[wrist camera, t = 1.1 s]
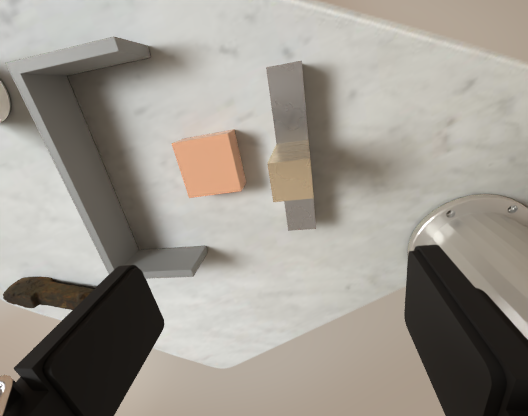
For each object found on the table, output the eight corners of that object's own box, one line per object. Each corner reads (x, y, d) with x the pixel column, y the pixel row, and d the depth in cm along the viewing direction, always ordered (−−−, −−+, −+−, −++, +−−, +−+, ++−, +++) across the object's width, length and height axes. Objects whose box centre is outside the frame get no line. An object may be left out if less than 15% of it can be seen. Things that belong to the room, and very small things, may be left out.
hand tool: (131, 287, 40) (111, 310, 36) (134, 306, 42) (115, 330, 38) (19, 263, 41) (-13, 283, 37) (26, 282, 43) (-4, 303, 39)
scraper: (301, 63, 24) (301, 49, 15) (315, 216, 31) (319, 269, 22) (270, 69, 25) (251, 59, 16) (289, 218, 31) (284, 271, 22)
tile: (234, 129, 28) (227, 133, 25) (246, 181, 30) (241, 191, 27) (183, 138, 29) (171, 143, 26) (199, 188, 31) (189, 197, 29)
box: (147, 45, 25) (113, 36, 21) (207, 252, 35) (193, 276, 30) (54, 66, 27) (4, 63, 23) (135, 256, 37) (111, 279, 32)
